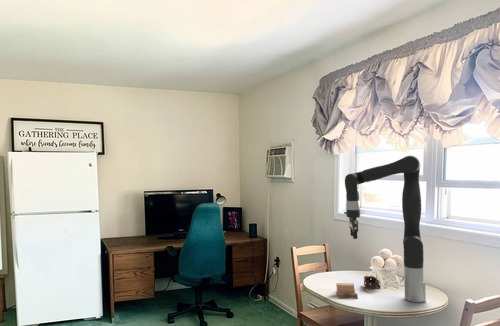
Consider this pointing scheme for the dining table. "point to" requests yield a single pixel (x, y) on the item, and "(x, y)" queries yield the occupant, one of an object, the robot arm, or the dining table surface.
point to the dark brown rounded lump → (373, 281)
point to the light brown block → (345, 288)
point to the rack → (348, 295)
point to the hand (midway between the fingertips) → (353, 237)
